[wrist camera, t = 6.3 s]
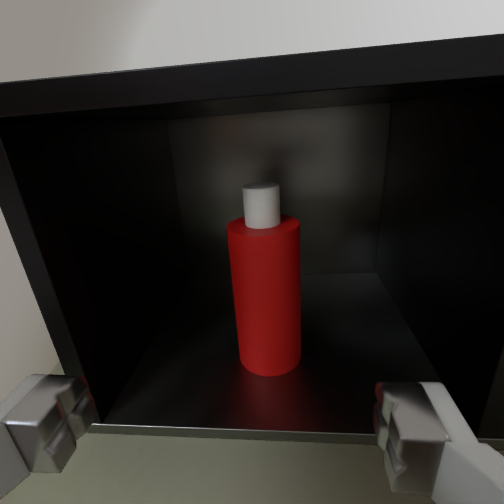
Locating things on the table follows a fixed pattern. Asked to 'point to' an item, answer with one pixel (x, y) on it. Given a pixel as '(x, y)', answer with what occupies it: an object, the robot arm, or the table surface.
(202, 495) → the table surface
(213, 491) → the table surface
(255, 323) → the sauce bottle
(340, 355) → the toaster oven
